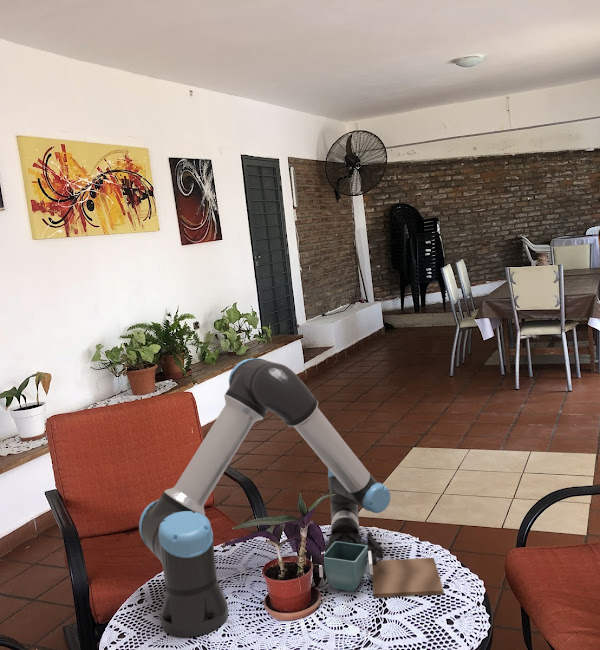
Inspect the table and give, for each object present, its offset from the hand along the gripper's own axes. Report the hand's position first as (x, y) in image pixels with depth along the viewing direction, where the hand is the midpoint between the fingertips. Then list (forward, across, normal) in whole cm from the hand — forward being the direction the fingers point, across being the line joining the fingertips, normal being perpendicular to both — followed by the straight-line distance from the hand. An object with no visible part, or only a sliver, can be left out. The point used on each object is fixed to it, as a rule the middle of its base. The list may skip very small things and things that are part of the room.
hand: (345, 570), depth 158 cm
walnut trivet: (-6, -14, -6) cm, 16 cm away
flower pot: (-4, 0, -6) cm, 7 cm away
